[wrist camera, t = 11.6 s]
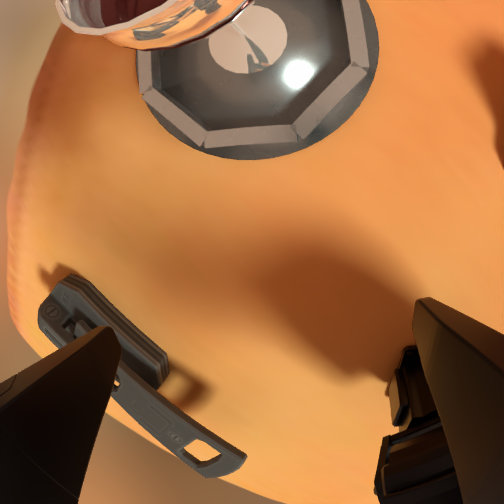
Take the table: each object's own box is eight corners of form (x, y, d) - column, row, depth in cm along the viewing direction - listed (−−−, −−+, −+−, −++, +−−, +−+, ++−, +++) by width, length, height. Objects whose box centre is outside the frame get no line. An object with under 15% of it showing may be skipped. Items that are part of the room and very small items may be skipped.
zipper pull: (209, 483, 25) (21, 342, 24) (227, 439, 31) (58, 313, 30) (255, 464, 21) (21, 289, 21) (271, 410, 27) (68, 260, 27)
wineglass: (326, 43, 14) (311, -81, 3) (238, 109, 17) (105, 84, 6) (254, -22, 13) (170, -135, 2) (176, 40, 16) (35, -12, 5)
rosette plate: (355, -54, 11) (356, -69, 9) (386, 158, 17) (392, 161, 15) (142, -18, 15) (128, -26, 13) (150, 168, 21) (134, 172, 19)
